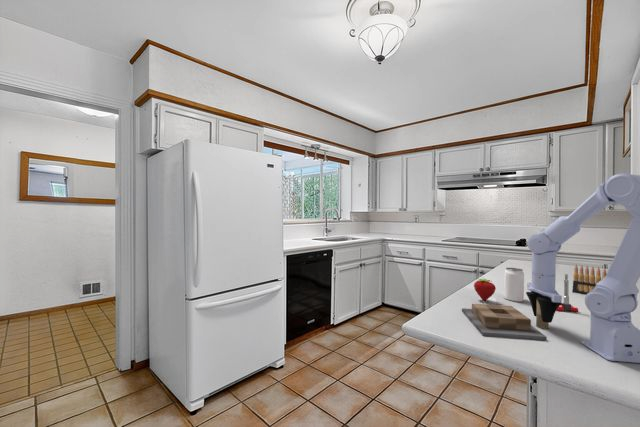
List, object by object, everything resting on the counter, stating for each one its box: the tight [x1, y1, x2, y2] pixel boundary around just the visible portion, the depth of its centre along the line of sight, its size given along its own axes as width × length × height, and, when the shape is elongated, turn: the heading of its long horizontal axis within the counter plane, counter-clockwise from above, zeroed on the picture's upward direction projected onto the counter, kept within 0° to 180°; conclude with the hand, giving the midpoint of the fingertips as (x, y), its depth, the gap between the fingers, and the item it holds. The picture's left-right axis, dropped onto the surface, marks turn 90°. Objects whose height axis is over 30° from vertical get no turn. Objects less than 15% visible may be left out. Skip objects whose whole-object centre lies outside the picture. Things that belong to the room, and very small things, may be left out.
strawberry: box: [473, 278, 497, 302], centre depth 114 cm, size 6×8×10 cm
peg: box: [535, 300, 550, 330], centre depth 89 cm, size 3×3×8 cm
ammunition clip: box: [571, 264, 607, 296], centre depth 122 cm, size 11×2×12 cm, turn 37°
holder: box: [461, 303, 548, 341], centre depth 91 cm, size 20×16×4 cm
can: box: [503, 267, 525, 303], centre depth 116 cm, size 6×6×12 cm
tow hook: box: [556, 273, 579, 313], centre depth 107 cm, size 8×13×9 cm
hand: (542, 319), depth 89 cm, fingers open, 4 cm apart
